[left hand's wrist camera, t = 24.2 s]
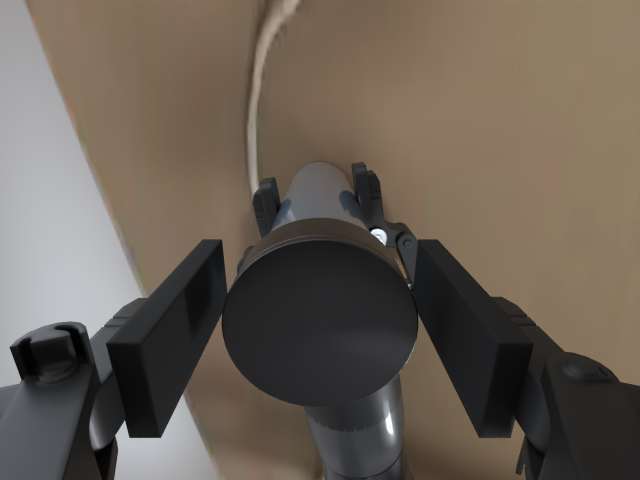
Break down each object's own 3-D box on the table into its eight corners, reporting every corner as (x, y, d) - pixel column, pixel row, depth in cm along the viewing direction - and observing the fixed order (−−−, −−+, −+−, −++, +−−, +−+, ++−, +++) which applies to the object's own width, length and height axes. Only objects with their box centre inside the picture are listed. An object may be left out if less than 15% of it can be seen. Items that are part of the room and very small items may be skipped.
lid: (228, 348, 13) (211, 391, 11) (249, 200, 11) (234, 219, 9) (377, 374, 13) (388, 420, 11) (423, 236, 11) (445, 261, 9)
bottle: (287, 219, 29) (242, 368, 12) (291, 158, 27) (243, 233, 10) (346, 224, 29) (384, 378, 12) (354, 164, 27) (409, 246, 10)
